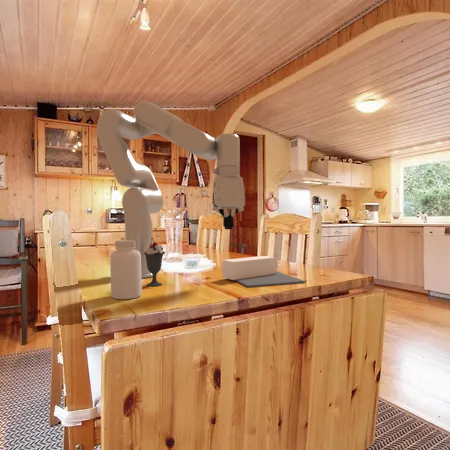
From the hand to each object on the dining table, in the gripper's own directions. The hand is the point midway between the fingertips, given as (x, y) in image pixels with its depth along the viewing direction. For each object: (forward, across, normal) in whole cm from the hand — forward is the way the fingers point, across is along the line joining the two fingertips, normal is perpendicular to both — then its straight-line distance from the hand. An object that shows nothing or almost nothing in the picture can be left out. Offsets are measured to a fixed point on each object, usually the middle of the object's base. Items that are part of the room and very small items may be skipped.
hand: (228, 229), depth 110 cm
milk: (+14, 0, +1) cm, 14 cm away
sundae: (+17, -24, +2) cm, 29 cm away
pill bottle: (+17, -33, -10) cm, 38 cm away
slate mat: (+17, +12, -1) cm, 21 cm away
